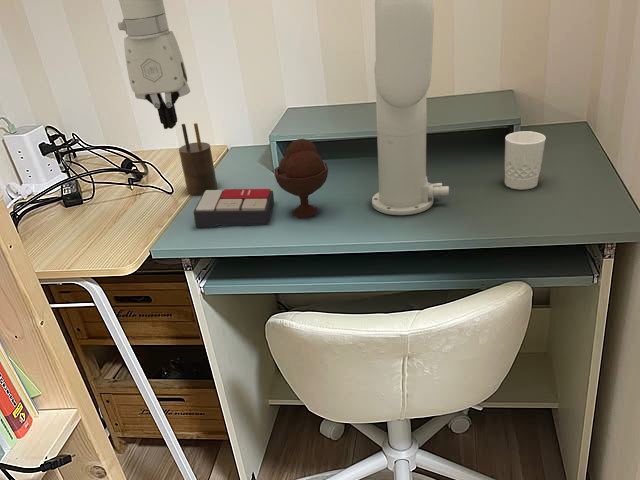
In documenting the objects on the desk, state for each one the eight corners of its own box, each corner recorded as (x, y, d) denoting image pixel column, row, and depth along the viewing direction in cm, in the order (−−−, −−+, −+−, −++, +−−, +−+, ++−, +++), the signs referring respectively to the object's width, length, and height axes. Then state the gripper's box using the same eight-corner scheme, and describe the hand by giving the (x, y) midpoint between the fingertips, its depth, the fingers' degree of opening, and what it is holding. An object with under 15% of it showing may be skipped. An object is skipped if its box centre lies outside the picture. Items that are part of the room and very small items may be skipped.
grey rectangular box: (266, 207, 128) (192, 208, 129) (268, 227, 130) (195, 227, 131) (273, 186, 137) (203, 187, 138) (274, 205, 139) (206, 206, 140)
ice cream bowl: (271, 210, 136) (262, 140, 128) (320, 198, 139) (314, 129, 131) (289, 228, 128) (280, 155, 119) (340, 215, 131) (335, 143, 123)
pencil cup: (220, 183, 152) (209, 117, 143) (213, 194, 146) (200, 126, 137) (192, 184, 153) (178, 118, 144) (183, 196, 147) (169, 128, 138)
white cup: (526, 194, 132) (530, 146, 126) (494, 185, 137) (497, 139, 132) (548, 182, 136) (553, 135, 130) (516, 174, 141) (520, 128, 136)
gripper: (100, 34, 115) (128, 135, 125) (180, 26, 113) (202, 130, 123) (115, 26, 121) (140, 123, 131) (191, 19, 119) (211, 118, 129)
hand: (170, 126), depth 127 cm, fingers closed
